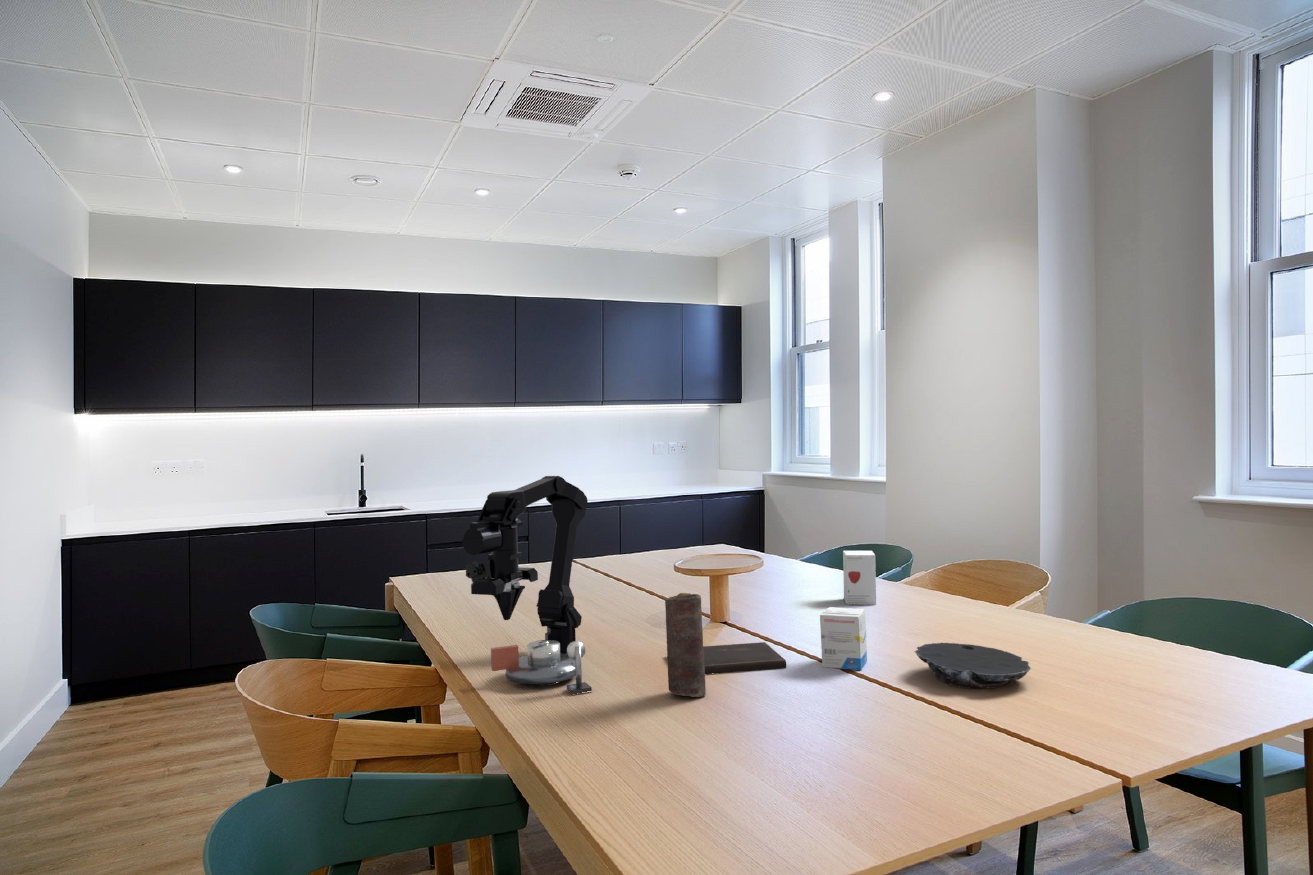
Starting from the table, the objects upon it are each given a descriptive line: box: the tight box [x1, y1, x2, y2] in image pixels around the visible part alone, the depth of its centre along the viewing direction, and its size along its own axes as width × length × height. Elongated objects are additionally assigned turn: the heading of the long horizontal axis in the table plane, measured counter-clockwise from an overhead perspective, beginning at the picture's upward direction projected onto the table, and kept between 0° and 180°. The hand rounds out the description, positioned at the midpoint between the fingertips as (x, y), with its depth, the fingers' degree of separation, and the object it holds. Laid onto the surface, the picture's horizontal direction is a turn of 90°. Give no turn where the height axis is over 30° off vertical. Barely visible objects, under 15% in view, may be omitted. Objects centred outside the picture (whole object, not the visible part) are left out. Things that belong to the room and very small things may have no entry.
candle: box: [664, 592, 707, 698], centre depth 157 cm, size 8×7×20 cm
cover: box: [526, 639, 560, 667], centre depth 171 cm, size 7×7×5 cm
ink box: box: [819, 606, 868, 671], centre depth 175 cm, size 9×8×12 cm
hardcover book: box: [703, 641, 787, 675], centre depth 179 cm, size 16×23×2 cm
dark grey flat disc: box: [913, 642, 1032, 691], centre depth 163 cm, size 22×22×5 cm
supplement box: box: [842, 550, 877, 606], centre depth 239 cm, size 9×9×15 cm
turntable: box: [490, 644, 576, 685], centre depth 171 cm, size 16×16×6 cm
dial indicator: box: [566, 640, 593, 695], centre depth 163 cm, size 4×6×10 cm, turn 24°
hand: (506, 619), depth 175 cm, fingers closed
